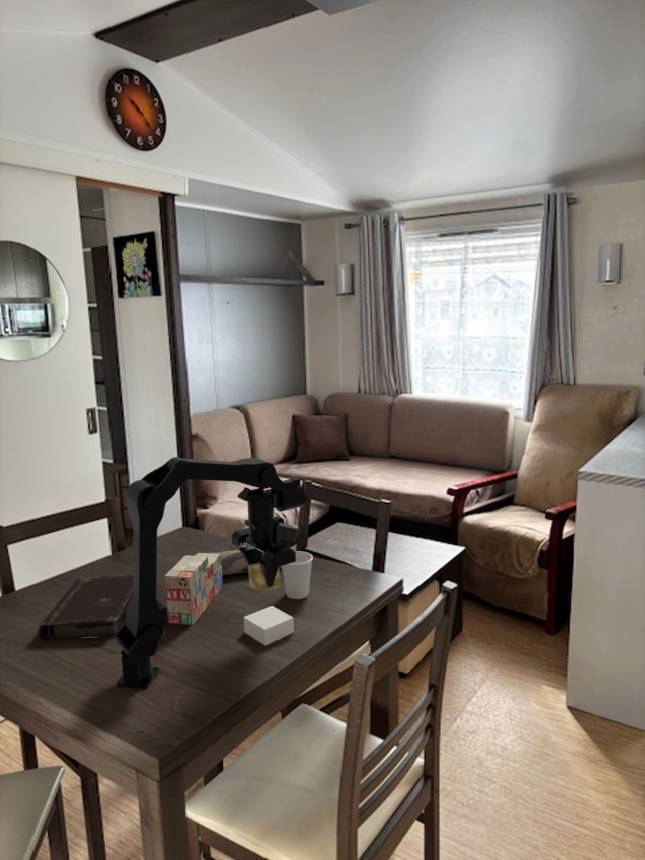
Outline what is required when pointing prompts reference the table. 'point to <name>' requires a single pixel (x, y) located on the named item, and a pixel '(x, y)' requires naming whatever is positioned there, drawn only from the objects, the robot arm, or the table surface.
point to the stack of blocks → (192, 587)
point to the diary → (90, 608)
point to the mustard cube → (261, 579)
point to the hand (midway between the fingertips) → (264, 582)
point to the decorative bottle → (233, 562)
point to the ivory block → (268, 625)
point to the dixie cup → (298, 576)
